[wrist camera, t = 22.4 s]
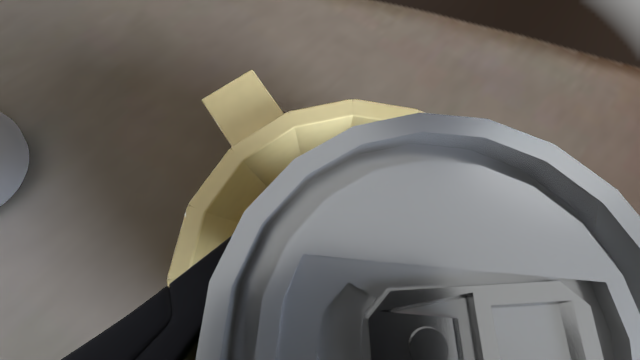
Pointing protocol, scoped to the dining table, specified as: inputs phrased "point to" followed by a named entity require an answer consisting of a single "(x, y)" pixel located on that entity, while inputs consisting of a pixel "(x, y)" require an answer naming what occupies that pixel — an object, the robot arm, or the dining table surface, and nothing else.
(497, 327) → the beer can
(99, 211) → the dining table surface
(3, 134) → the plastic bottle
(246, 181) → the pot
